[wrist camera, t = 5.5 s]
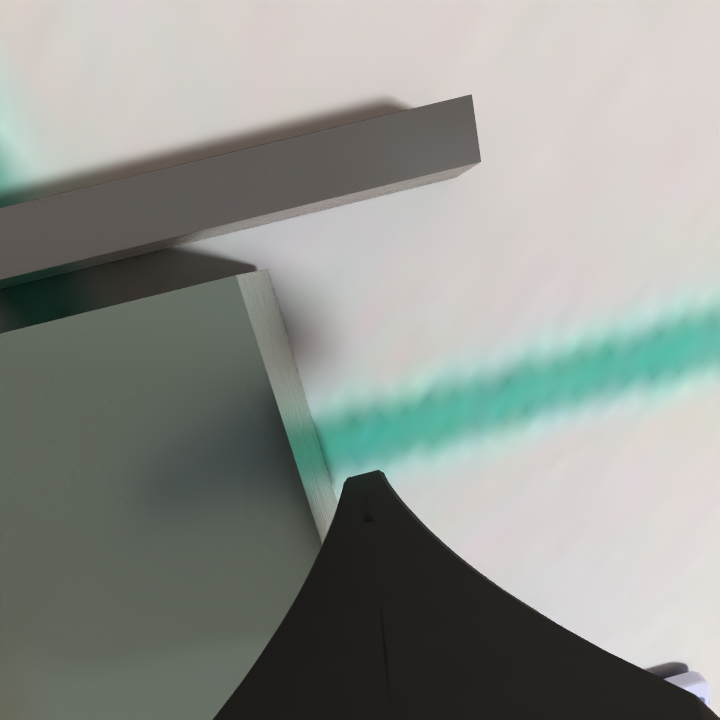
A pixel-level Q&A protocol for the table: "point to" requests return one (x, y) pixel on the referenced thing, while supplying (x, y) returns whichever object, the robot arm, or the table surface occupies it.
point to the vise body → (236, 191)
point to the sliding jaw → (152, 503)
